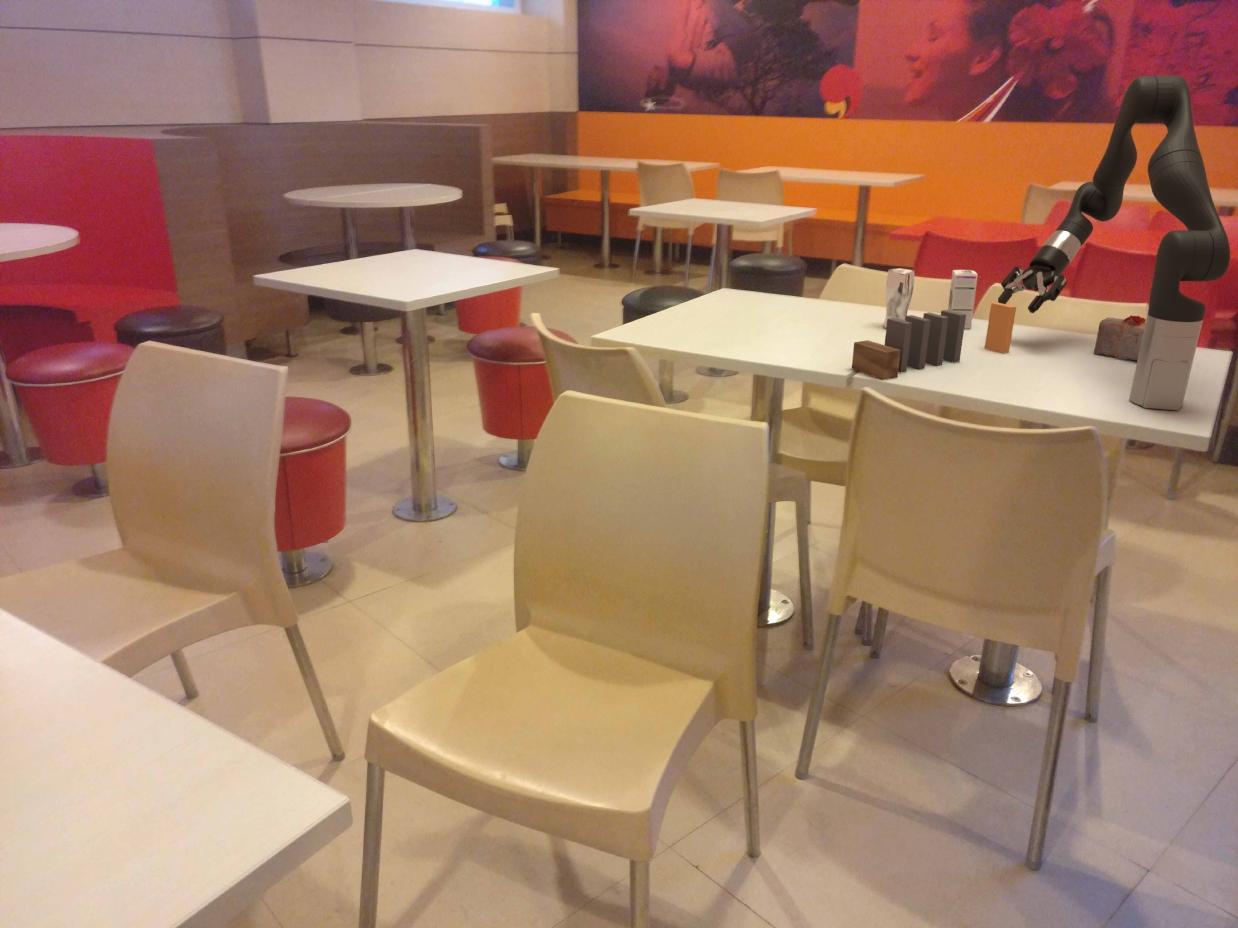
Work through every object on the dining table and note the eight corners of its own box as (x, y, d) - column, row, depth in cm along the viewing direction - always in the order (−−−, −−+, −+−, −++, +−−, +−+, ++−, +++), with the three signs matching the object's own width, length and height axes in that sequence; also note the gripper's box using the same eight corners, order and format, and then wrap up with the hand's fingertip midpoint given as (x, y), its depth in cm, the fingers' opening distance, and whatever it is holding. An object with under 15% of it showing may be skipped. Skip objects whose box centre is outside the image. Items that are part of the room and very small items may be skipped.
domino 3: (923, 359, 208) (929, 312, 204) (942, 365, 204) (948, 317, 199) (917, 360, 207) (923, 313, 203) (936, 366, 203) (942, 318, 199)
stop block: (865, 366, 203) (867, 340, 201) (897, 377, 195) (900, 350, 193) (851, 368, 201) (854, 342, 199) (883, 379, 193) (886, 352, 191)
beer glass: (878, 329, 236) (884, 271, 230) (884, 323, 241) (890, 267, 236) (905, 332, 233) (912, 274, 227) (911, 326, 238) (918, 269, 233)
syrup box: (971, 329, 235) (979, 273, 229) (947, 328, 236) (955, 273, 231) (968, 324, 240) (975, 270, 235) (944, 323, 241) (952, 269, 236)
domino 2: (906, 362, 206) (911, 315, 202) (924, 368, 201) (930, 320, 197) (900, 363, 205) (905, 316, 201) (918, 369, 200) (924, 320, 196)
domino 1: (888, 365, 203) (893, 317, 199) (906, 371, 199) (912, 322, 195) (882, 366, 202) (887, 318, 198) (900, 372, 198) (906, 323, 194)
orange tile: (989, 347, 218) (996, 302, 214) (1008, 352, 213) (1016, 306, 209) (984, 348, 217) (991, 303, 213) (1003, 353, 213) (1011, 307, 208)
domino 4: (940, 356, 211) (946, 309, 206) (959, 361, 206) (966, 314, 202) (935, 357, 210) (941, 310, 206) (953, 362, 205) (960, 315, 201)
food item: (1163, 359, 207) (1173, 317, 204) (1152, 366, 202) (1162, 323, 198) (1101, 349, 216) (1109, 308, 213) (1089, 355, 211) (1097, 314, 207)
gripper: (1024, 240, 218) (984, 292, 217) (1077, 248, 206) (1034, 303, 205) (1035, 260, 222) (996, 311, 221) (1087, 269, 210) (1046, 323, 210)
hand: (1015, 307), depth 213 cm, fingers open, 8 cm apart
